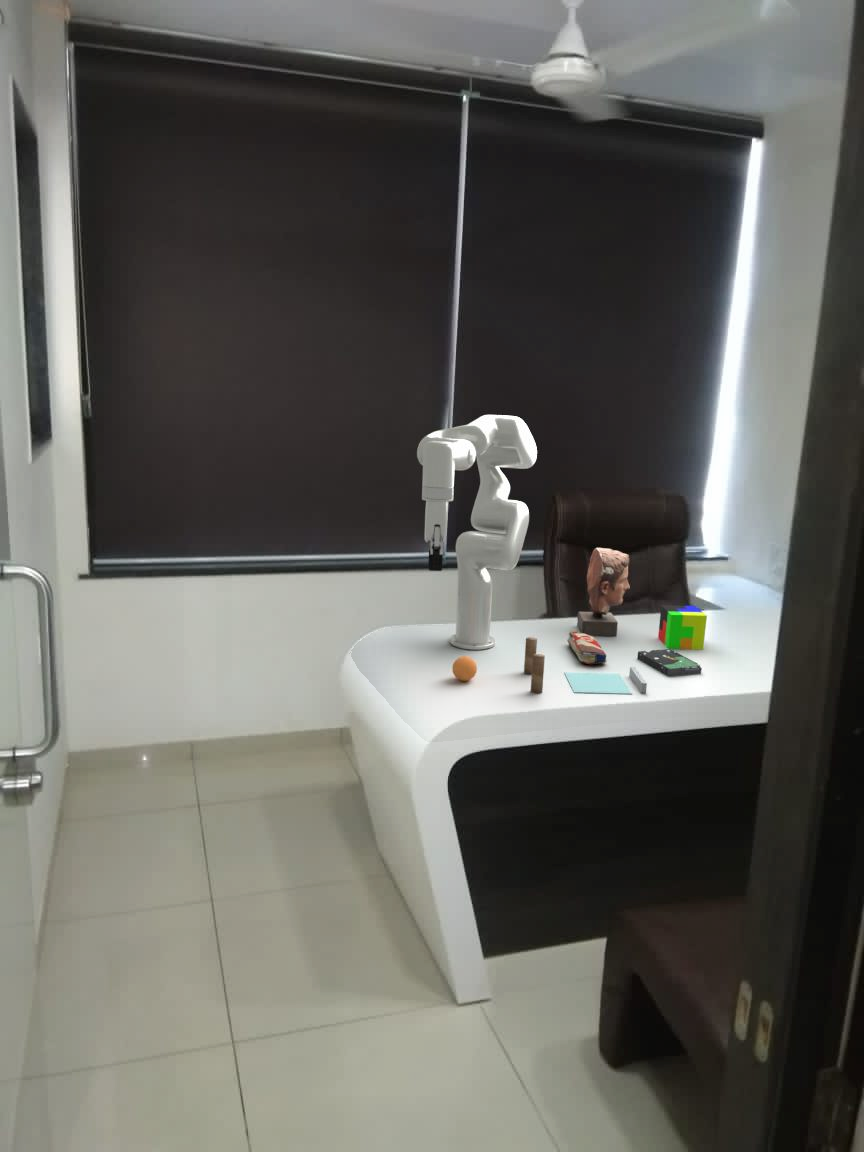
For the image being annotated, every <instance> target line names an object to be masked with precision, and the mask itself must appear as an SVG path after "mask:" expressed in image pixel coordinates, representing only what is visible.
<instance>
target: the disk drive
mask: <svg viewBox="0 0 864 1152" xmlns="http://www.w3.org/2000/svg"><path fill="white" fill-rule="evenodd" d="M637 660H638V661H641V663H644V664H646V665H647V666H649V667H651V668H653V669H654V670H656V671H657V672H660V673H661V674H663V675H664V676H666V677H668V678H669V677H678V676H689V675H691V676H692V675H699V674H702V669H703V668H702V667H701V664H699V663H698V662H695V661H694V660H691V659H690V658H688V657H686V656H684V655H682V654H680V653H679V652H676V651H674V649H668V648H665V649H664V648H663V649H652V650H650V651H646V650H640V651H639V650H638V651H637Z"/></svg>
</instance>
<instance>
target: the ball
mask: <svg viewBox="0 0 864 1152" xmlns="http://www.w3.org/2000/svg"><path fill="white" fill-rule="evenodd" d="M451 668H452V673H453V675H454V676H455V678H456V679H457V680H459V681H461V682H468V681H471V679H474V677H475V676H476V674H477V671H478V666H477V663H476V661H475V660H474V659H473V658H471V656H465V655H463V656H459V657H458V658H456V659H455V660H454V662H453V664H452V667H451Z"/></svg>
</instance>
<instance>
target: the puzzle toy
mask: <svg viewBox="0 0 864 1152" xmlns="http://www.w3.org/2000/svg"><path fill="white" fill-rule="evenodd" d="M659 615H660V616H659V625H658V626H659V627H658V637H657V638H658V640H659V641H660V642H661V643H662V644H663V645H664V646H665V647H666V649H671V650H702V651H703V650H704V644H705V636H706V626H707V617H708V615H706V613H704V612H703V611H702V610H701V609H700V608H698V607H697V606H696V605H668V604H667V605H665V604H664V605H663V604H662V605H661V606H660V614H659Z"/></svg>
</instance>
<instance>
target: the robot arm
mask: <svg viewBox="0 0 864 1152" xmlns="http://www.w3.org/2000/svg"><path fill="white" fill-rule="evenodd" d="M537 454H538V450H537V445H536V442H535V439H534V436H533V435H532V433H531V431H530V429H529V427H528V425H527V423H525V421H524V420H523V419H522V418H520V417H518V416H514V415H502V414H498V415H497V414H484V415H481V416H479V417H478V418H476V419H474V420H473V421H471V422H469V423H468V424H464V425H459V426H455V427H449V428H443V429H439V430H435V431H432V432H431V433H429V434H427V435H425V436H424V437H423V438H422V439H421V440H420V442H419V444H418V447H417V451H416V458H417V460H418V462H419V464H420V465H421V466H422V483H421V485H422V488H421V491H422V492H421V500H422V501H426V502H425V510H424V511H425V513H424V541H425V542H426V543H428V542H429V549H428V561H427V562H428V571H431V572H442V571H443V543H444V542H445V541H446V536H447V528H448V518H449V517H448V513H449V502H453V501H454V492H455V491H454V490H455V488H454V487H455V486H454V485H455V471H466V470H468V469H470V468H471V467H472V466H473V465H474V463H475V462H476V464H477V468H478V472H479V479H480V480H479V482H480V484H479V488H478V491H477V495H476V498H475V500H474V504H473V507H472V512H471V516H470V523H471V526H472V527H473V528H474V529H475V530H469V531H465V532H462V533H461V534H460V535H459V536H458V537H457V539H456V541H455V554H456V561H457V594H456V595H457V597H456V623H455V634H453V635H451V636H450V637H449V643H450V644H451V646H453V647H455V648H459V649H463V650H472V651H473V650H475V651H477V650H479V651H480V650H487V649H490V648H493V647H494V646H495V645H496V639H495V638H494V637H492V636H491V619H492V617H491V616H492V602H493V601H492V598H493V594H492V593H493V581H492V580H493V579H492V576H491V575H490V573H489V571H488V570H487V569H492V570H501V571H511V570H513V569H514V568H515V567H516V566H517V564H518V562H519V560H520V556H521V553H522V549H523V546H524V543H525V537H526V535H527V531H528V527H529V523H530V512H529V508H528V506H527V504H526V503H525V502H523V501H521V500H520V501H519V500H516V499H515V500H514V499H508V498H509V495H510V493H511V485H510V482H509V480H508V478H507V477H506V475H505V474H504V473H503V472H502V470H501V468H506V469H507V468H508V469H520V470H521V469H523V470H525V469H529V468H532V467H533V466H534V464H535V463H536V461H537V456H538V455H537Z"/></svg>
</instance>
